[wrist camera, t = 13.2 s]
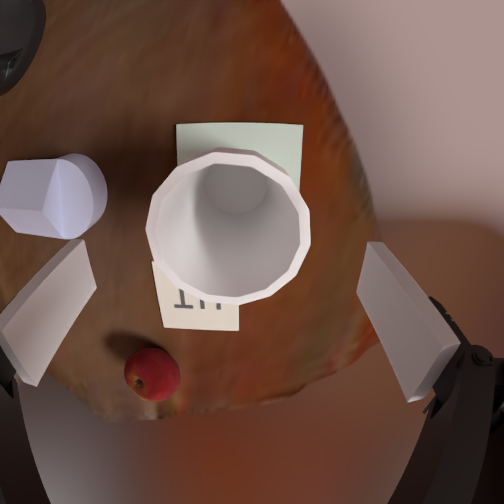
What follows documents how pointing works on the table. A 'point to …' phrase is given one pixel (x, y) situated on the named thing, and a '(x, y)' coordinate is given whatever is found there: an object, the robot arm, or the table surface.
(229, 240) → the foam cup
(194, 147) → the sage mat
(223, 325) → the cream card
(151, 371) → the apple
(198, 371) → the table surface
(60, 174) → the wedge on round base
